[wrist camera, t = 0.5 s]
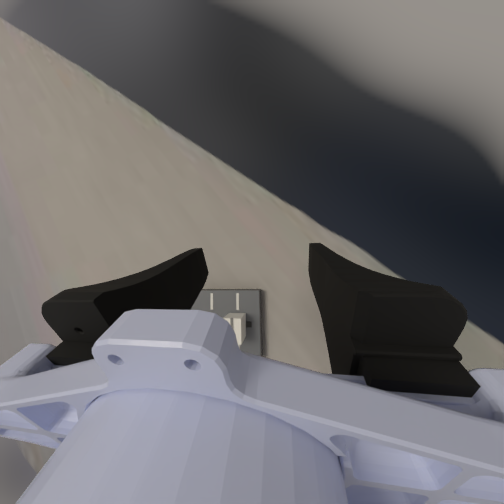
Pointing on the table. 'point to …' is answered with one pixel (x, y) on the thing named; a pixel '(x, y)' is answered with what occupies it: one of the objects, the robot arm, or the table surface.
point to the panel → (236, 311)
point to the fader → (238, 325)
